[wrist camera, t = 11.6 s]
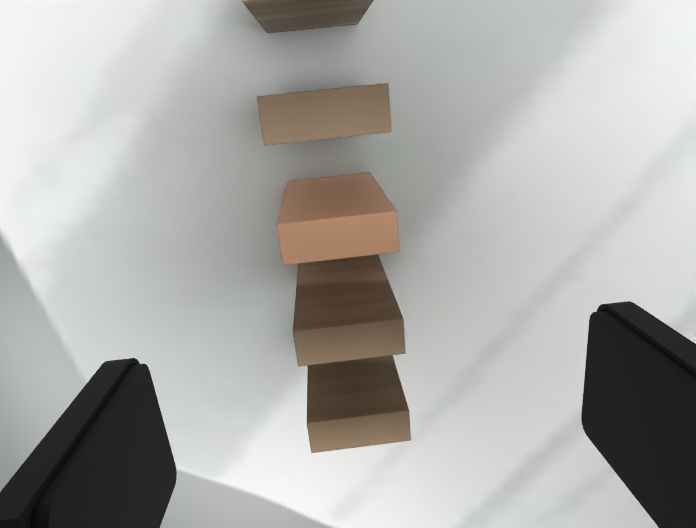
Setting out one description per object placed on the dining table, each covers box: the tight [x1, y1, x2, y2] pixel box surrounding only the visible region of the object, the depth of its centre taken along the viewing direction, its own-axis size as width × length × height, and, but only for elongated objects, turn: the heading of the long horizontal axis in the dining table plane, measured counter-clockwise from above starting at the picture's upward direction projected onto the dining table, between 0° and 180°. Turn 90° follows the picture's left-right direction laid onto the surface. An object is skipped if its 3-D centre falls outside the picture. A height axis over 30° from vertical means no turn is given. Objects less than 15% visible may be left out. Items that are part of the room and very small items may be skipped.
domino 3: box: [276, 172, 399, 265], centre depth 25 cm, size 2×5×10 cm, turn 96°
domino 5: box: [307, 355, 411, 453], centre depth 28 cm, size 2×5×10 cm, turn 95°
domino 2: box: [257, 83, 391, 145], centre depth 23 cm, size 2×5×10 cm, turn 96°
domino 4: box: [293, 254, 405, 366], centre depth 27 cm, size 2×5×10 cm, turn 95°
